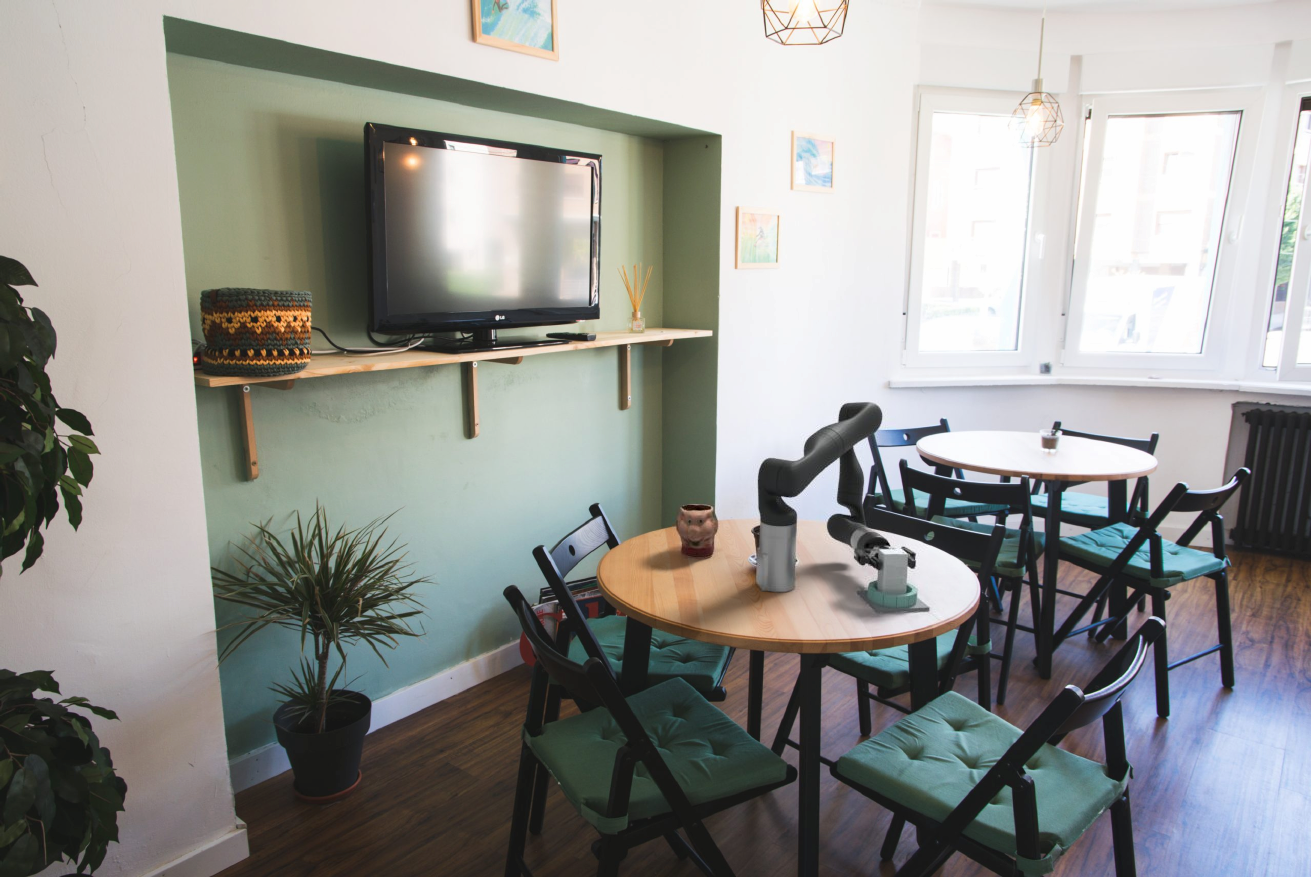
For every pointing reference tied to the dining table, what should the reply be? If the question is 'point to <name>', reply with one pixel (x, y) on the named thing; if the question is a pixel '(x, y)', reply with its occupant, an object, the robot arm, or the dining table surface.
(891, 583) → the skincare box
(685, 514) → the decorative planter
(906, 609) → the collar holder
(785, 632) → the dining table surface
